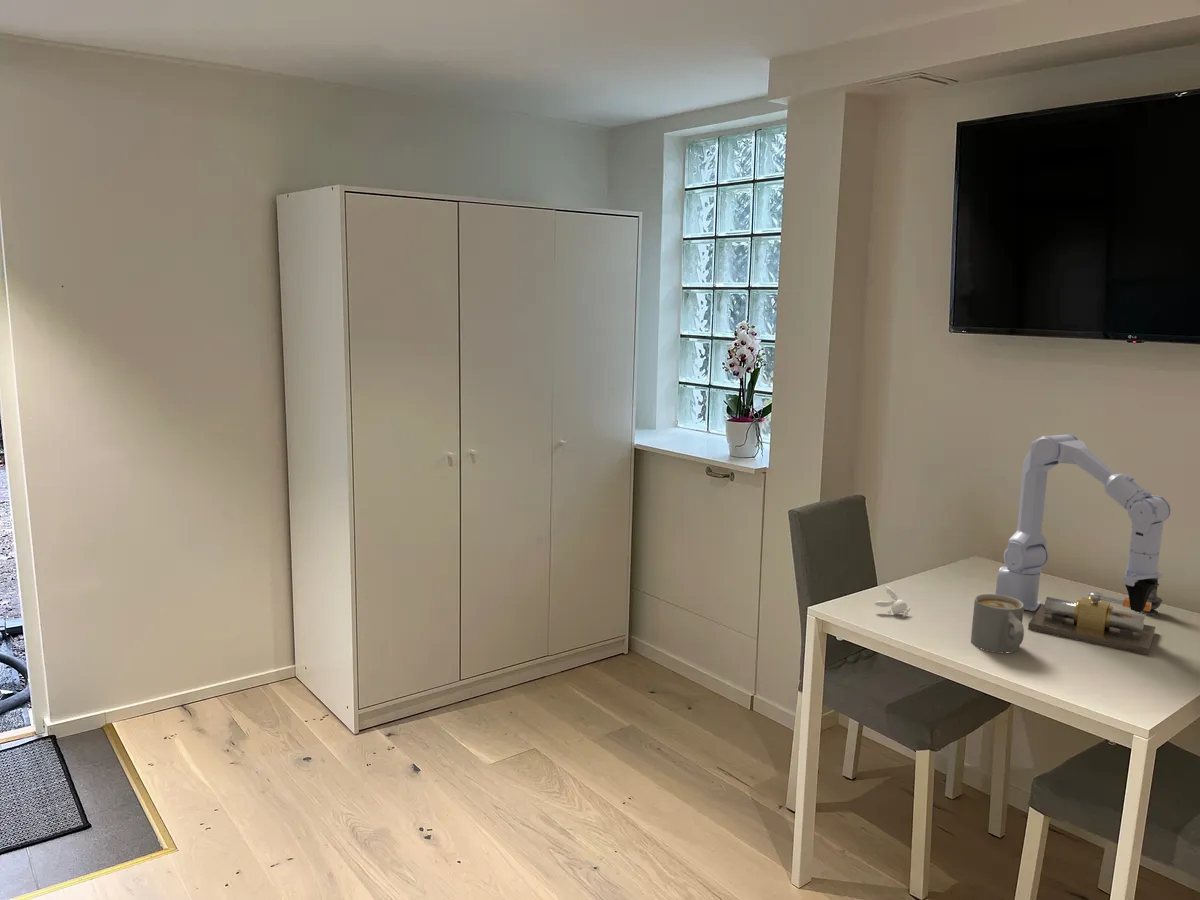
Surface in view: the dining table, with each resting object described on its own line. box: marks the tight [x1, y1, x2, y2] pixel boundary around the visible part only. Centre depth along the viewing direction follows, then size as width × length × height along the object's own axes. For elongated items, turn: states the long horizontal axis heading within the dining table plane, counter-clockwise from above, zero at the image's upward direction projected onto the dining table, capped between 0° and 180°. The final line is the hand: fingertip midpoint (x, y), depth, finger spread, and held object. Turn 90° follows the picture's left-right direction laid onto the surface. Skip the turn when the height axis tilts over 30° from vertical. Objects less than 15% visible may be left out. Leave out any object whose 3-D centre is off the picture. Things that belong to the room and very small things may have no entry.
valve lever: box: [1088, 590, 1152, 612], centre depth 209 cm, size 12×3×2 cm, turn 51°
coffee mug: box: [970, 593, 1025, 654], centre depth 201 cm, size 13×10×10 cm
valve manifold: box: [1027, 596, 1156, 656], centre depth 212 cm, size 24×16×8 cm, turn 54°
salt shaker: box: [1135, 571, 1163, 616], centre depth 225 cm, size 6×6×12 cm
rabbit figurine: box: [874, 585, 911, 618], centre depth 222 cm, size 6×4×8 cm
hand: (1136, 610), depth 204 cm, fingers closed
